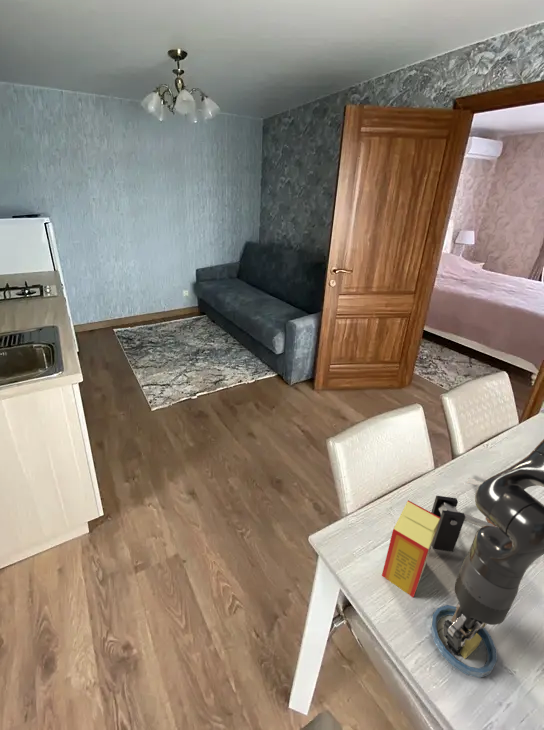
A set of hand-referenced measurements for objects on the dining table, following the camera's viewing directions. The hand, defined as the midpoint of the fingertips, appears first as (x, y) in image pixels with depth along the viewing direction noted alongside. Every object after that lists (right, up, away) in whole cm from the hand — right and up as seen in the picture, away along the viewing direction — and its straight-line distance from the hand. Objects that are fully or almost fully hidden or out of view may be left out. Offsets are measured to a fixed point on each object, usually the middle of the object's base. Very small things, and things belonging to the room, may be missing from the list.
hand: (460, 642), depth 64 cm
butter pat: (0, 0, 0) cm, 0 cm away
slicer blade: (+11, +14, +15) cm, 23 cm away
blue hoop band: (0, -1, 0) cm, 1 cm away
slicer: (+6, +6, +19) cm, 21 cm away
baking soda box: (-5, +4, +12) cm, 14 cm away
